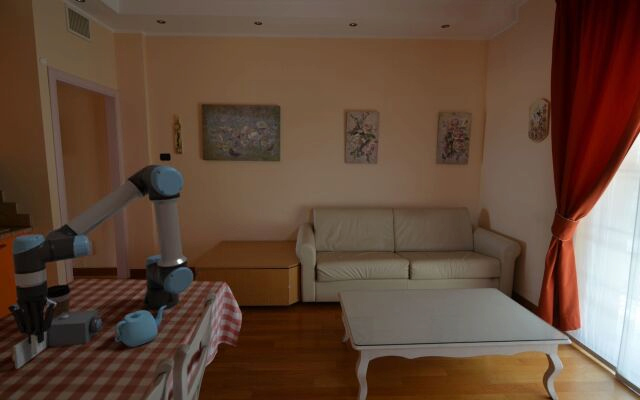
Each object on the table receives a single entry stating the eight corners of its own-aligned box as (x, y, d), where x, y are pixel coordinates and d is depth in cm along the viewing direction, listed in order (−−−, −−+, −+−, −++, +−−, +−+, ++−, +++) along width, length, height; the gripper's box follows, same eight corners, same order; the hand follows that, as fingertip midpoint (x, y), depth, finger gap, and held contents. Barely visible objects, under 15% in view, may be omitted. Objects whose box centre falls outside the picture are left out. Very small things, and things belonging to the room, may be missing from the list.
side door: (18, 368, 101) (16, 346, 100) (13, 368, 101) (10, 346, 100) (48, 346, 114) (47, 326, 113) (43, 346, 113) (42, 326, 112)
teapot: (172, 309, 122) (118, 325, 109) (173, 335, 123) (119, 354, 111) (160, 298, 131) (109, 312, 118) (161, 323, 132) (110, 339, 119)
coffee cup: (57, 329, 125) (54, 292, 123) (40, 326, 127) (37, 290, 125) (77, 319, 133) (75, 284, 131) (61, 316, 135) (58, 282, 133)
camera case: (106, 329, 126) (105, 307, 125) (93, 343, 117) (92, 320, 115) (64, 331, 124) (63, 310, 122) (48, 346, 114) (46, 323, 113)
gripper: (61, 277, 108) (66, 343, 111) (16, 279, 106) (22, 347, 108) (47, 286, 101) (52, 356, 103) (-1, 288, 98) (6, 360, 101)
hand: (37, 351), depth 106 cm, fingers closed
